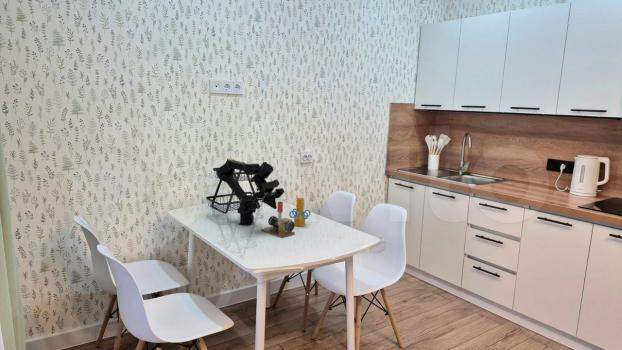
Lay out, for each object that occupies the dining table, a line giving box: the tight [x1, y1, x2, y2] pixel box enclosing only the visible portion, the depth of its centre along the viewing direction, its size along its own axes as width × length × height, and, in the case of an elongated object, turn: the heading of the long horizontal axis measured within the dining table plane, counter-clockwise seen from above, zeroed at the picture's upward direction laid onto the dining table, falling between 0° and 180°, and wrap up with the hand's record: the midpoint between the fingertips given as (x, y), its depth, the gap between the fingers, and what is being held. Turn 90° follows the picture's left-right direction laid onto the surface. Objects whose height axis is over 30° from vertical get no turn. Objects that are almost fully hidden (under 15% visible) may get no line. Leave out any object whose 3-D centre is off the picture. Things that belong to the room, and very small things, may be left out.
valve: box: [260, 215, 296, 239], centre depth 221 cm, size 16×9×7 cm, turn 48°
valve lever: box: [277, 201, 284, 226], centre depth 217 cm, size 2×2×12 cm
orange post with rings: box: [288, 197, 311, 228], centre depth 235 cm, size 12×10×15 cm
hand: (275, 208), depth 218 cm, fingers closed
